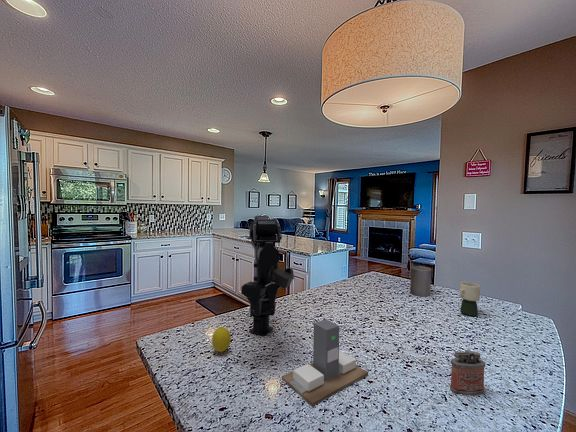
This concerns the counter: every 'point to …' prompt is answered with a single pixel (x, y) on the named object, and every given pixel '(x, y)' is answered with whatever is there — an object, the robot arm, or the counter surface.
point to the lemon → (221, 339)
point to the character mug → (469, 297)
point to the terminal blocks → (314, 378)
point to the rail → (302, 389)
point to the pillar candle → (420, 281)
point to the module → (326, 348)
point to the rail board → (328, 385)
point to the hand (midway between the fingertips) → (265, 310)
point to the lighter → (467, 373)
